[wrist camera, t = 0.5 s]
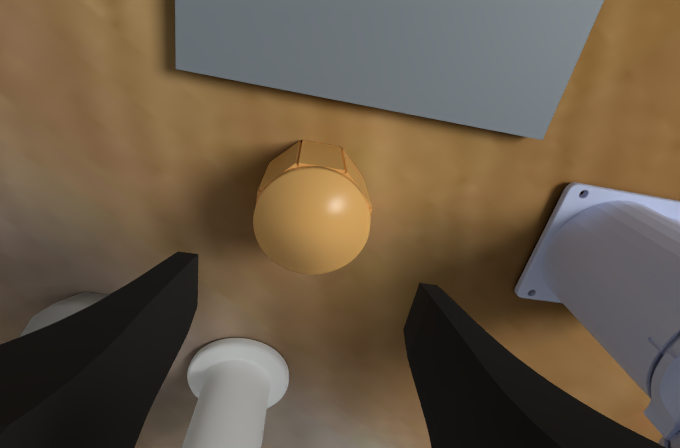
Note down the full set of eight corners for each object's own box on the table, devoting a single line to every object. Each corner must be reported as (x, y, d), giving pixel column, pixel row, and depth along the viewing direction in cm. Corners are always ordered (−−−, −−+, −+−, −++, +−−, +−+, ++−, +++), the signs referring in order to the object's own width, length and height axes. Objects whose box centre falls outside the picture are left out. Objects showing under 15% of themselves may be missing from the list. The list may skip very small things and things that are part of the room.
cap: (369, 151, 19) (382, 180, 15) (350, 236, 22) (357, 280, 18) (271, 134, 19) (258, 160, 15) (262, 223, 21) (248, 266, 17)
